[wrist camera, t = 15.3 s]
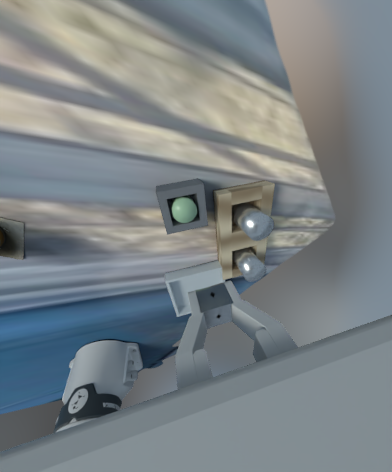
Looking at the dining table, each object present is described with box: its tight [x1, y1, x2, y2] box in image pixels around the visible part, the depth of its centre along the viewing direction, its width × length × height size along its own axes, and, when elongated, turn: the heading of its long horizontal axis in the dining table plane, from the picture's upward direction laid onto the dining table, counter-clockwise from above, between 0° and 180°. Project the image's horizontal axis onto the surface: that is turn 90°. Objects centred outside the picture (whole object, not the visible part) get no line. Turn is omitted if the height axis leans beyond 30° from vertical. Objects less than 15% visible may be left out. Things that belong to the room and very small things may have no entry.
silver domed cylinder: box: [232, 247, 266, 282], centre depth 33 cm, size 4×4×7 cm
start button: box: [171, 195, 197, 223], centre depth 25 cm, size 4×4×3 cm
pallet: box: [213, 180, 275, 280], centre depth 32 cm, size 20×10×3 cm, turn 8°
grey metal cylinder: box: [232, 202, 274, 241], centre depth 28 cm, size 4×4×7 cm
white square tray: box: [165, 260, 225, 317], centre depth 38 cm, size 13×13×2 cm
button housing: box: [156, 179, 208, 234], centre depth 26 cm, size 7×7×4 cm
